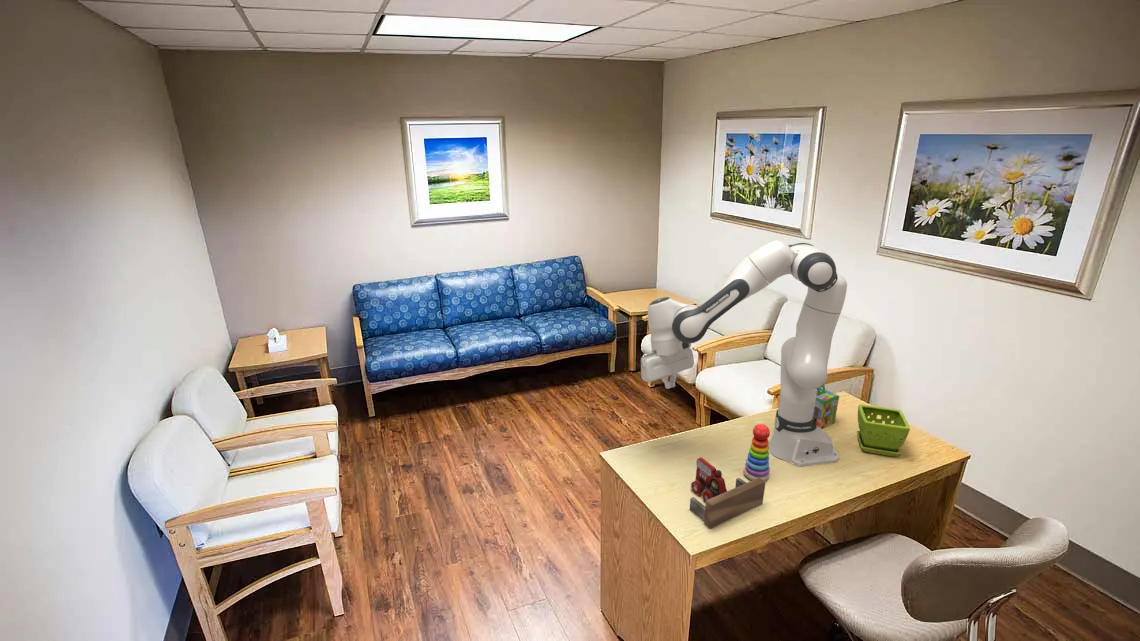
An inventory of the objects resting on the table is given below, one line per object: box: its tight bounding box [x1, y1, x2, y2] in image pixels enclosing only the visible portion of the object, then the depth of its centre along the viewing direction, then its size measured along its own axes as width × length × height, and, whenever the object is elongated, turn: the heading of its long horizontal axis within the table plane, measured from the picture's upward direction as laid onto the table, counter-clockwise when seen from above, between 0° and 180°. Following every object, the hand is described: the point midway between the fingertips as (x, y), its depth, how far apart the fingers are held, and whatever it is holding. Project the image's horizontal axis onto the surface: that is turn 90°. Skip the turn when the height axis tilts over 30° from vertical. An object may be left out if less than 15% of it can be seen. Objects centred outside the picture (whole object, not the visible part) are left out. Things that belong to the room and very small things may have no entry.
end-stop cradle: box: [688, 477, 766, 530], centre depth 161 cm, size 9×21×8 cm, turn 120°
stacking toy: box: [743, 423, 771, 482], centre depth 174 cm, size 8×8×19 cm
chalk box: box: [813, 383, 840, 429], centre depth 207 cm, size 9×9×15 cm
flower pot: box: [856, 403, 911, 457], centre depth 190 cm, size 14×14×13 cm
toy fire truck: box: [690, 456, 728, 504], centre depth 166 cm, size 7×12×10 cm, turn 28°
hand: (670, 387), depth 183 cm, fingers closed
